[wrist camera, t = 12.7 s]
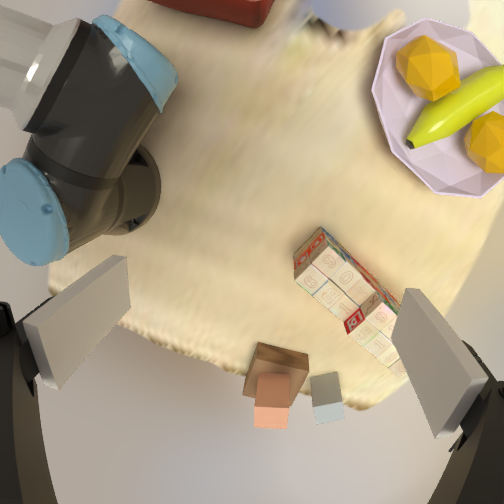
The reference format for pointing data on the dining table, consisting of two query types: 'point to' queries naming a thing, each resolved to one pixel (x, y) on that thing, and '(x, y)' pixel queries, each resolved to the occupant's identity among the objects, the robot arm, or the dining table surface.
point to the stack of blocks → (350, 296)
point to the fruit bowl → (443, 107)
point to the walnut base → (277, 368)
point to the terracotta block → (272, 401)
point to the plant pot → (224, 9)
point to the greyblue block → (327, 398)
